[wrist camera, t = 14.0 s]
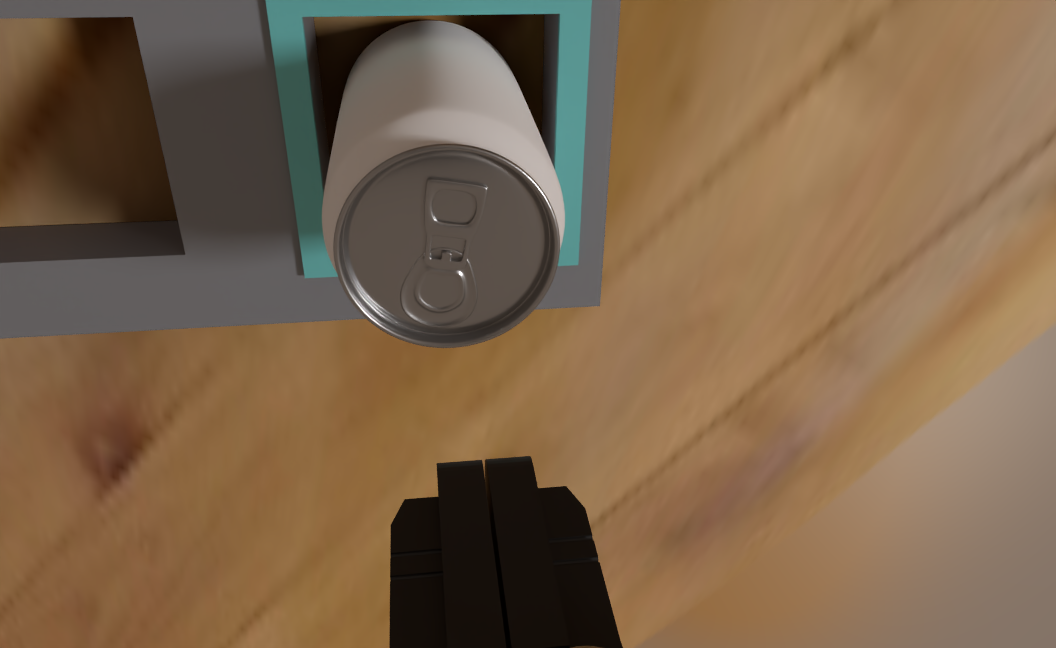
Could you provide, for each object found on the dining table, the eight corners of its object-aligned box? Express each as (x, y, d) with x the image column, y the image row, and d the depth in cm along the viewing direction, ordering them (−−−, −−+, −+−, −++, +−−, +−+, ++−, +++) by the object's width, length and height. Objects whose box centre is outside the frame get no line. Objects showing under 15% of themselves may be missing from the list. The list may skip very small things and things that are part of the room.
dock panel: (-214, -105, 25) (-292, -95, 22) (606, -102, 28) (629, -92, 25) (-52, 301, 32) (-95, 348, 30) (585, 270, 35) (601, 309, 32)
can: (336, 178, 32) (307, 351, 22) (351, 1, 29) (324, 106, 18) (503, 200, 33) (548, 372, 23) (534, 33, 30) (604, 148, 20)
